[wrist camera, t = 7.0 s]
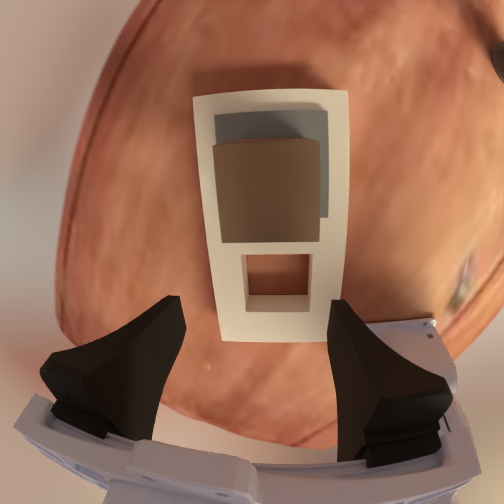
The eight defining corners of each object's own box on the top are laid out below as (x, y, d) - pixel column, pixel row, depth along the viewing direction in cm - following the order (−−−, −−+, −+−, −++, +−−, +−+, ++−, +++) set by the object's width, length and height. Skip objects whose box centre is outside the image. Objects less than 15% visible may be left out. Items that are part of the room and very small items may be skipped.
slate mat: (325, 111, 15) (327, 110, 15) (326, 215, 18) (328, 217, 18) (216, 115, 16) (214, 115, 15) (224, 216, 19) (222, 219, 18)
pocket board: (339, 95, 17) (347, 90, 14) (330, 323, 25) (333, 341, 23) (202, 100, 18) (192, 97, 16) (226, 323, 26) (222, 340, 24)
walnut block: (304, 137, 16) (319, 141, 9) (305, 199, 17) (319, 242, 11) (239, 139, 16) (212, 145, 10) (243, 200, 18) (221, 243, 11)
